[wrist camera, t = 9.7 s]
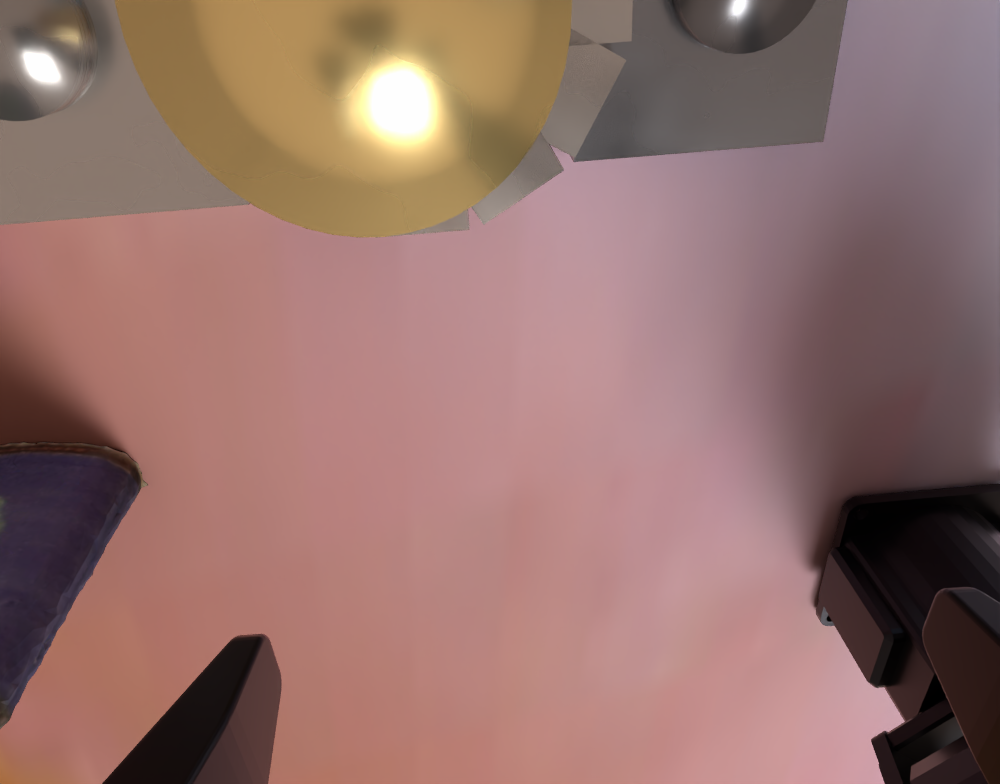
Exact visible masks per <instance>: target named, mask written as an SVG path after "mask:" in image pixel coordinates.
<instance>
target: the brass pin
mask: <svg viewBox="0 0 1000 784" xmlns="http://www.w3.org/2000/svg"><path fill="white" fill-rule="evenodd" d="M115 5H116V9H117V13H118V17H119V21H120V25H121V29H122V33H123V37H124V39H125V42H126V45H127V47H128V50H129V53H130V56H131V58H132V61H133V64H134V66H135V69H136V71H137V73H138V75H139V77H140V79H141V81H142V83H143V85H144V87H145V89H146V91H147V93H148V95H149V97H150V99H151V100H152V102H153V104H154V105H155V107H156V108H157V110H158V111H159V113H160V115H161V116H162V118H163V119H164V121H165V122H166V124H167V125H168V127H169V128H170V129H171V131H172V132H173V133H174V134H175V136H176V137H177V138H178V139H179V141H180V142H181V143H182V144H183V146H184V147H185V148H186V149H187V151H188V152H189V153H190V154H191V155H192V156H193V157H194V158H195V159H196V160H197V161H198V162H199V163H200V164H201V165H202V166H203V167H204V168H205V169H206V170H207V171H208V172H209V173H210V174H212V175H213V176H214V177H215V178H216V179H218V180H219V181H220V182H221V183H223V184H224V185H225V186H226V187H228V188H229V189H230V190H231V191H232V192H234V193H236V194H237V195H239V196H240V197H242V198H243V199H245V200H246V201H248V202H249V203H251V204H253V205H254V206H256V207H257V208H259V209H261V210H263V211H265V212H267V213H269V214H271V215H274V216H276V217H278V218H280V219H282V220H284V221H287V222H290V223H293V224H295V225H298V226H301V227H304V228H306V229H311V230H315V231H319V232H324V233H328V234H332V235H341V236H350V237H386V236H392V235H399V234H406V233H411V232H414V231H418V230H421V229H425V228H428V227H432V226H434V225H437V224H439V223H441V222H443V221H446V220H448V219H450V218H453V217H455V216H457V215H458V214H460V213H462V212H463V211H465V210H467V209H468V208H470V207H472V206H474V205H475V204H477V203H478V202H479V201H481V200H482V199H483V198H484V197H486V196H487V195H488V194H489V193H491V192H492V191H493V190H495V189H496V188H497V187H498V186H499V185H500V184H501V183H502V182H503V181H504V180H505V179H506V178H507V177H508V176H509V175H510V174H511V173H512V172H513V171H514V170H515V168H516V167H517V166H518V164H519V163H520V162H521V160H522V159H523V158H524V156H525V155H526V154H527V153H528V151H529V150H530V149H531V147H532V145H533V144H534V142H535V140H536V139H537V137H538V135H539V133H540V132H541V130H542V128H543V126H544V125H545V123H546V120H547V118H548V116H549V113H550V111H551V109H552V106H553V104H554V102H555V99H556V97H557V94H558V90H559V87H560V83H561V80H562V76H563V73H564V69H565V65H566V59H567V53H568V47H569V41H570V35H571V14H572V0H115Z"/></svg>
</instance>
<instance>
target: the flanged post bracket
mask: <svg viewBox="0 0 1000 784" xmlns="http://www.w3.org/2000/svg"><path fill="white" fill-rule="evenodd" d="M847 1H848V0H572V14H571V35H570V41H569V47H568V53H567V59H566V65H565V69H564V73H563V76H562V80H561V83H560V87H559V90H558V94H557V97H556V99H555V102H554V104H553V106H552V109H551V111H550V113H549V116H548V118H547V120H546V123H545V125H544V126H543V128H542V130H541V132H540V133H539V135H538V137H537V139H536V140H535V142H534V144H533V145H532V147H531V149H530V150H529V151H528V153H527V154H526V155H525V156H524V158H523V159H522V160H521V162H520V163H519V164H518V166H517V167H516V168H515V170H514V171H513V172H512V173H511V174H510V175H509V176H508V177H507V178H506V179H505V180H504V181H503V182H502V183H501V184H500V185H499V186H498V187H497V188H496V189H495V190H493V191H492V192H491V193H489V194H488V195H487V196H486V197H484V198H483V199H482V200H481V201H479V202H478V203H477V204H475V205H474V206H472V209H473V210H474V211H475V213H476V214H477V216H478V217H479V219H480V220H481V221H482V223H483V224H486V223H487V222H488V221H490V220H491V219H493V218H494V217H496V216H497V215H499V214H500V213H502V212H503V211H505V210H506V209H508V208H509V207H511V206H512V205H514V204H515V203H516V202H518V201H519V200H521V199H522V198H524V197H525V196H527V195H528V194H530V193H531V192H533V191H534V190H536V189H537V188H539V187H540V186H541V185H543V184H544V183H546V182H547V181H549V180H550V179H552V178H553V177H555V176H556V175H558V174H559V173H561V172H562V171H564V169H563V167H562V166H561V164H560V162H559V160H558V158H557V157H556V155H555V153H554V151H553V150H552V148H551V146H550V145H552V146H553V147H555V148H557V149H559V150H561V151H563V152H565V153H567V154H569V155H570V156H571V158H572V160H573V161H574V162H578V161H591V160H603V159H615V158H628V157H640V156H652V155H665V154H677V153H689V152H701V151H714V150H726V149H738V148H751V147H763V146H775V145H788V144H800V143H812V142H823V140H824V134H825V128H826V122H827V116H828V111H829V105H830V99H831V93H832V87H833V82H834V76H835V70H836V64H837V58H838V53H839V47H840V41H841V35H842V30H843V24H844V18H845V12H846V6H847ZM249 204H250V203H249V202H248V201H246V200H245V199H243V198H242V197H240V196H239V195H237V194H236V193H234V192H232V191H231V190H230V189H229V188H228V187H226V186H225V185H224V184H223V183H221V182H220V181H219V180H218V179H216V178H215V177H214V176H213V175H212V174H210V173H209V172H208V171H207V170H206V169H205V168H204V167H203V166H202V165H201V164H200V163H199V162H198V161H197V160H196V159H195V158H194V157H193V156H192V155H191V154H190V153H189V152H188V151H187V149H186V148H185V147H184V146H183V144H182V143H181V142H180V141H179V139H178V138H177V137H176V136H175V134H174V133H173V132H172V131H171V129H170V128H169V127H168V125H167V124H166V122H165V121H164V119H163V118H162V116H161V115H160V113H159V111H158V110H157V108H156V107H155V105H154V104H153V102H152V100H151V99H150V97H149V95H148V93H147V91H146V89H145V87H144V85H143V83H142V81H141V79H140V77H139V75H138V73H137V71H136V69H135V66H134V64H133V61H132V58H131V56H130V53H129V50H128V47H127V45H126V42H125V39H124V37H123V33H122V29H121V25H120V21H119V17H118V13H117V9H116V5H115V0H0V225H4V224H16V223H29V222H41V221H53V220H65V219H78V218H90V217H102V216H114V215H127V214H139V213H151V212H163V211H176V210H188V209H200V208H212V207H225V206H237V205H249ZM460 230H469V215H468V209H467V210H465V211H463V212H462V213H460V214H458V215H457V216H455V217H453V218H450V219H448V220H446V221H443V222H441V223H439V224H437V225H434V226H432V227H428V228H425V229H421V230H418V231H414V232H411V233H406V234H399V235H392V236H400V235H412V234H424V233H436V232H448V231H460ZM386 237H388V236H386Z"/></svg>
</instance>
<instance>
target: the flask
mask: <svg viewBox="0 0 1000 784" xmlns="http://www.w3.org/2000/svg"><path fill="white" fill-rule="evenodd" d="M141 474H142V472H141V471H140V468H139V466H138V464H137V463H136V462H134V461H133V460H132V459H131V458H130V457H129V456H128V455H127V454H126V453H124V452H119V451H116V450H113V449H111V448H109V447H107V446H101V447H99V446H95V445H91V444H83V443H76V444H73V443H66V444H65V443H62V444H60V443H47V442H41V443H40V442H38V443H37V444H35V443H33V444H30V443H25V442H23V443H20V444H19V443H9V444H7V445H1V446H0V729H1V728H2V727H3V726H4V725H5V724H6V723H7V722H8V721H9V720H10V718H11V715H12V713H13V710H14V708H15V706H16V704H17V703H18V702H19V700H20V698H21V696H22V693H23V691H24V689H25V687H26V685H27V683H28V681H29V680H30V678H31V677H32V676H33V675H34V673H35V672H36V671H37V669H38V667H39V666H40V665H41V662H42V660H43V658H44V655H45V654H46V652H47V650H48V649H49V647H50V646H51V643H52V641H53V639H54V637H55V635H56V632H57V630H58V629H59V628H60V626H61V625H62V624H63V622H64V621H65V619H66V616H67V614H68V612H69V611H70V609H71V607H72V605H73V602H74V601H75V599H76V597H77V596H78V594H79V592H80V591H81V590H82V589H83V587H84V585H85V583H86V582H87V580H88V579H89V578H90V577H91V576H92V574H93V571H94V568H95V566H96V565H97V563H98V561H99V559H100V558H101V556H102V554H103V552H104V550H105V547H106V545H107V544H108V542H109V540H110V539H111V537H112V535H113V534H114V532H115V531H116V529H117V527H118V526H119V524H120V522H121V520H122V519H123V517H124V516H125V515H126V513H127V511H128V510H129V508H130V506H131V504H132V503H133V502H134V500H135V498H136V496H137V495H138V493H139V491H140V489H141V488H142V487H144V486H146V485H148V484H146V483H145V482H144V481H143V479H142V475H141Z"/></svg>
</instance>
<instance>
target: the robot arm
mask: <svg viewBox="0 0 1000 784" xmlns="http://www.w3.org/2000/svg"><path fill="white" fill-rule="evenodd" d="M860 509H861V510H860ZM858 510H859V511H858ZM818 597H819V602H818V606H817V609H816V615H817V616H818V618H819V620H820V622H821V623H822V624H823V625H825V626H835V627H836V629H837V630H838V632H839V634H840V635H841V637H842V639H843V641H844V642H845V644H846V646H847V647H848V649H849V651H850V652H851V654H852V656H853V658H854V659H855V661H856V663H857V664H858V666H859V668H860V670H861V671H862V673H863V675H864V676H865V678H866V680H867V681H868V682H869V683H870V684H871V685H872V686H874V687H876V688H879V687H884V688H885V689H886V691H887V693H888V694H889V696H890V698H891V699H892V701H893V702H894V704H895V706H896V707H897V709H898V711H899V712H900V714H901V716H902V717H903V719H904V721H905V722H904V723H902V724H901V725H899V726H898V727H896V728H894V729H893V730H891V731H889V732H886V731H883V732H882V733H880V734H878V735H877V736H875V737H874V738H872V739H871V742H872V745H873V747H874V750H875V753H876V756H877V759H878V762H879V768H880V771H881V774H882V777H883V779H884V782H885V784H1000V484H992V485H981V486H970V487H959V488H947V489H936V490H925V491H914V492H902V493H891V494H880V495H869V496H858V497H854V498H852V499H850V500H848V501H847V502H846V503H845V504H844V506H843V508H842V511H841V515H840V519H839V523H838V527H837V531H836V535H835V539H834V543H833V547H832V550H831V551H830V553H829V555H828V559H827V563H826V567H825V571H824V575H823V579H822V583H821V587H820V591H819V595H818ZM280 696H281V673H280V670H279V667H278V664H277V661H276V658H275V655H274V651H273V648H272V645H271V642H270V640H269V638H268V637H267V636H266V635H265V634H253V635H240V636H237V637H235V638H233V639H232V640H231V641H230V642H229V643H228V644H227V645H226V646H225V647H224V648H223V649H222V651H221V652H220V653H219V654H218V655H217V656H216V657H215V658H214V659H213V661H212V662H211V663H210V664H209V665H208V666H207V667H206V668H205V670H204V671H203V672H202V673H201V674H200V675H199V676H198V677H197V678H196V680H195V681H194V682H193V683H192V684H191V685H190V686H189V687H188V688H187V690H186V691H185V692H184V693H183V694H182V695H181V696H180V697H179V699H178V700H177V701H176V702H175V703H174V704H173V705H172V706H171V707H170V709H169V710H168V711H167V712H166V713H165V714H164V715H163V716H162V717H161V719H160V720H159V721H158V722H157V723H156V724H155V725H154V726H153V728H152V729H151V730H150V731H149V732H148V733H147V734H146V735H145V736H144V738H143V739H142V740H141V741H140V742H139V743H138V744H137V745H136V746H135V748H134V749H133V750H132V751H131V752H130V753H129V754H128V755H127V757H126V758H125V759H124V760H123V761H122V762H121V763H120V764H119V765H118V767H117V768H116V769H115V770H114V771H113V772H112V773H111V774H110V775H109V777H108V778H107V779H106V780H105V781H104V782H103V783H102V784H268V780H269V773H270V766H271V759H272V752H273V745H274V738H275V731H276V724H277V717H278V710H279V703H280Z"/></svg>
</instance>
